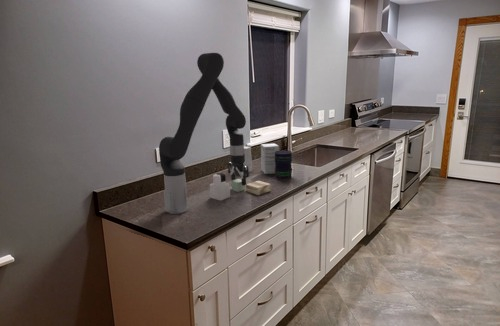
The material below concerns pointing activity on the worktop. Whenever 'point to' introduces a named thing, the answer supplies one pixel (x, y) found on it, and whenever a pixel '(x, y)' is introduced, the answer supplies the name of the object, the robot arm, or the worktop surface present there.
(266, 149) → the supplement box
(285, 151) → the storage jar
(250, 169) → the skincare box
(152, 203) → the worktop surface
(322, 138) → the worktop surface
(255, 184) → the maple box
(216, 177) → the medicine bottle
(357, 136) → the worktop surface
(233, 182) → the sage cube
